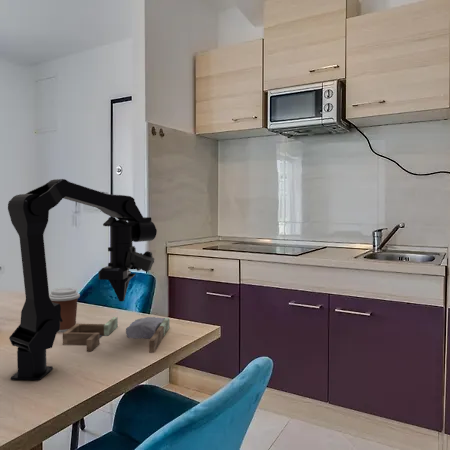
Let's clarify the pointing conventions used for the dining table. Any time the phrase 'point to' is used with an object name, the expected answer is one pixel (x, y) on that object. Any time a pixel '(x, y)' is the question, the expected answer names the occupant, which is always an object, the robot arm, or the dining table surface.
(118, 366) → the dining table surface
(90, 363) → the dining table surface
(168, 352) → the dining table surface
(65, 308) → the coffee cup
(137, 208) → the robot arm
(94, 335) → the channel
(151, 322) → the stone block
